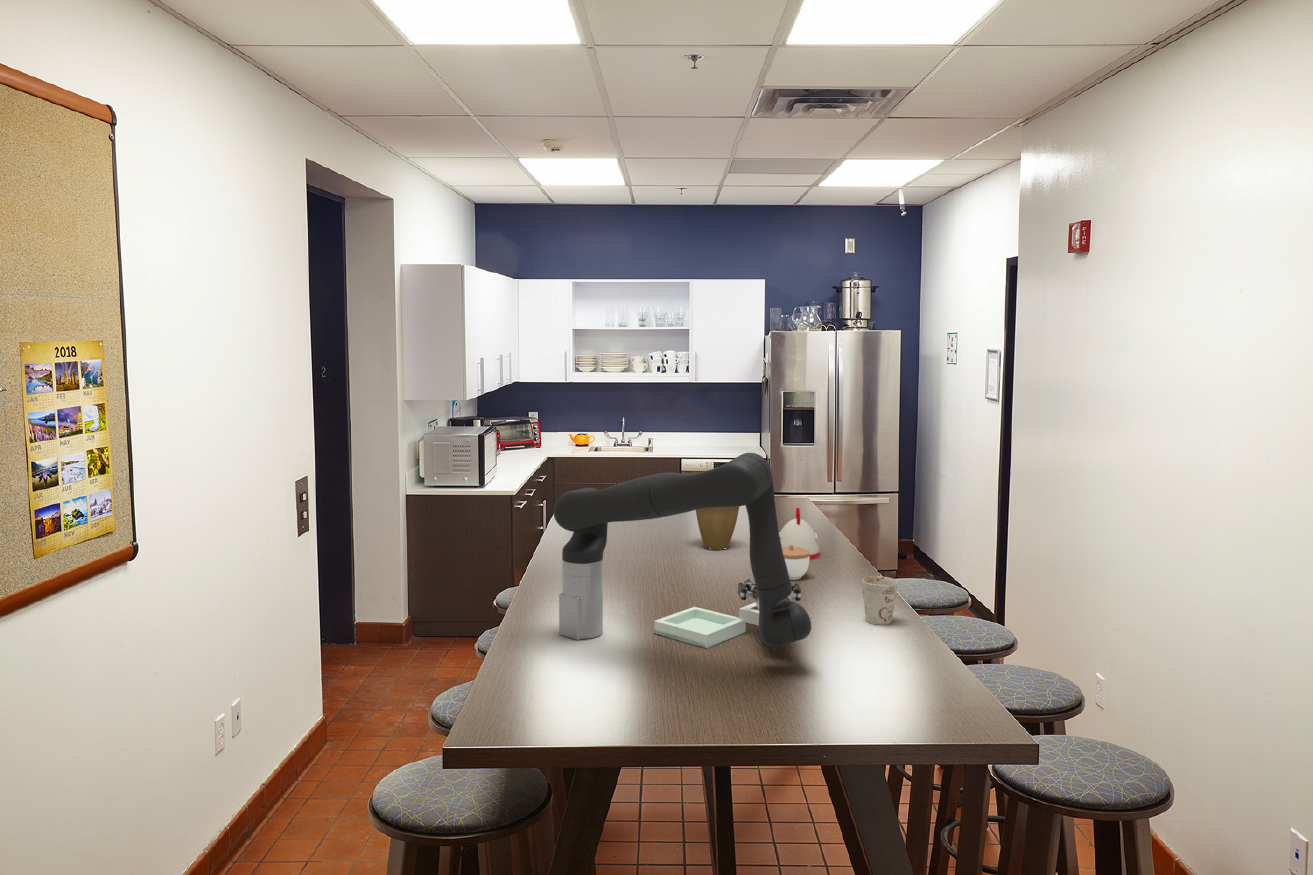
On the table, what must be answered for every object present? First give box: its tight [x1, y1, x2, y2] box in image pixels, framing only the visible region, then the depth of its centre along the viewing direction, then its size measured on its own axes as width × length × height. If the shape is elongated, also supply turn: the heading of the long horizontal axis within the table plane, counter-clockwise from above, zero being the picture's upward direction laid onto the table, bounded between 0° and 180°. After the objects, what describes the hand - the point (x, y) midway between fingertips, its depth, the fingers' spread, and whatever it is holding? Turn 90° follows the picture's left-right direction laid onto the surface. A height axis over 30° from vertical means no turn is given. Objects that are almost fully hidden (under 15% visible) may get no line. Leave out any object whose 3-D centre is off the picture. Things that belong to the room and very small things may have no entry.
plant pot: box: [695, 506, 740, 550], centre depth 289 cm, size 15×15×16 cm
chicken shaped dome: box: [779, 507, 820, 561], centre depth 280 cm, size 14×14×15 cm
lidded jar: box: [782, 545, 810, 581], centre depth 253 cm, size 11×11×9 cm
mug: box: [861, 575, 899, 626], centre depth 215 cm, size 8×13×10 cm, turn 15°
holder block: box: [738, 601, 759, 627], centre depth 213 cm, size 9×9×3 cm
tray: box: [653, 606, 747, 649], centre depth 203 cm, size 15×15×3 cm
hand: (765, 583), depth 213 cm, fingers open, 8 cm apart
